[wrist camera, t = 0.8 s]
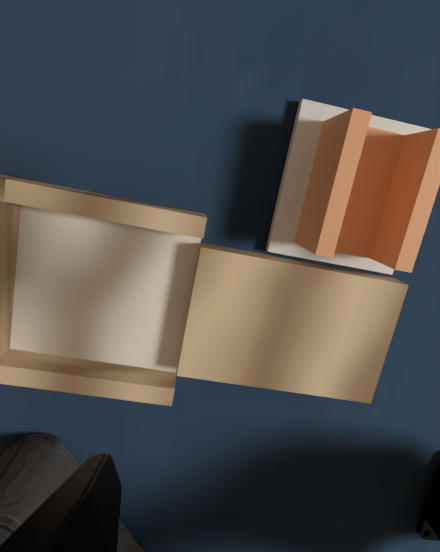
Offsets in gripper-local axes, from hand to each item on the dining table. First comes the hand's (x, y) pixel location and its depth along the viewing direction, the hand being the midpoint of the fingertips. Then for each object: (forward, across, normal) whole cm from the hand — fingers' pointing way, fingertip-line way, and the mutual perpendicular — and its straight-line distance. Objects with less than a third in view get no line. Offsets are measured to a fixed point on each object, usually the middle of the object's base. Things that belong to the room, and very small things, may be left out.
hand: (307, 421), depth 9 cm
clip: (+12, -6, -3) cm, 14 cm away
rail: (+13, +2, +1) cm, 13 cm away
